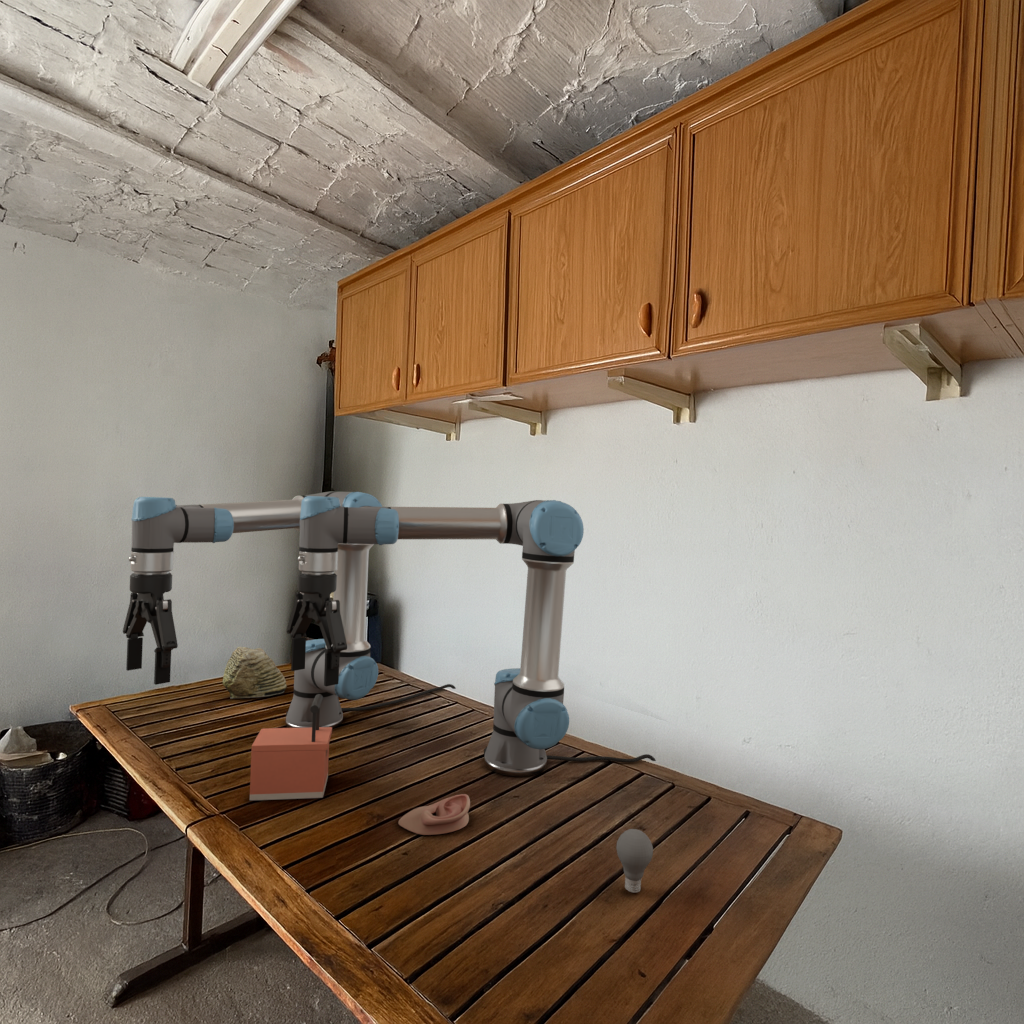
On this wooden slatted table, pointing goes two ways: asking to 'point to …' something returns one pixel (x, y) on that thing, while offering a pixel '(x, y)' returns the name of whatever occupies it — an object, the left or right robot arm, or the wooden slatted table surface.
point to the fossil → (252, 674)
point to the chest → (288, 774)
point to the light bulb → (634, 857)
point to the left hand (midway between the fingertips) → (147, 676)
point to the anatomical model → (438, 816)
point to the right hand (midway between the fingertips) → (314, 677)
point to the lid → (295, 735)
